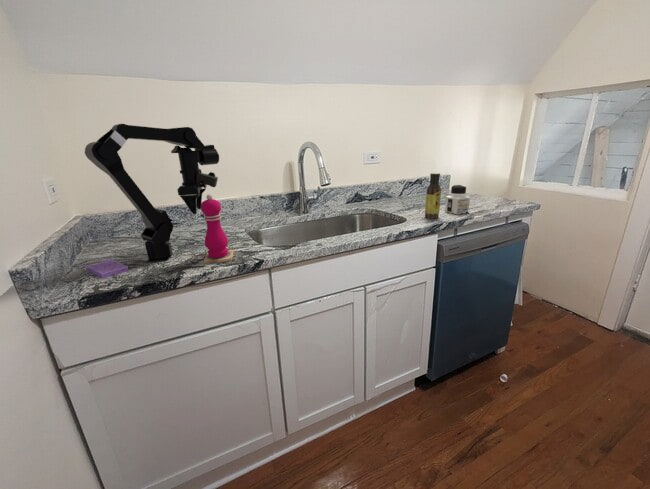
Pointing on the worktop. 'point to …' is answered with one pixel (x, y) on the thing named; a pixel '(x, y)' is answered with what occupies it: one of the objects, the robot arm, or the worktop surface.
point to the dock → (222, 259)
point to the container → (457, 200)
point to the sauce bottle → (433, 197)
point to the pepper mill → (214, 229)
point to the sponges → (107, 268)
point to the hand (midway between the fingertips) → (197, 211)
